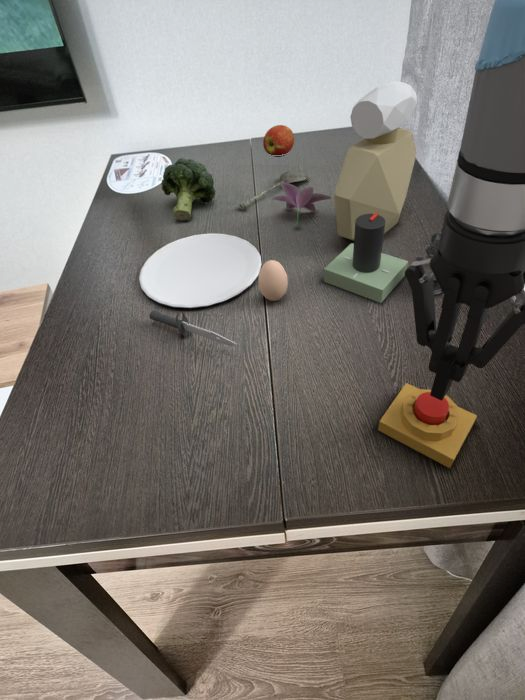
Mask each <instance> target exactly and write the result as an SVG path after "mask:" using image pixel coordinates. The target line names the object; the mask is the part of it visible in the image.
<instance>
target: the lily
mask: <svg viewBox="0 0 525 700" xmlns="http://www.w3.org/2000/svg"><path fill="white" fill-rule="evenodd" d="M279 182H280V184H281V185H280V186H281V189H282V190H283V193H284V195H277V196H273V197H272V198H271V199H272V200H274V201H279V202H285V207H286V209H287V210H292V209H295V208H296V209H297V213H296V226H297V227H296V228H297V229H299V227H300V225H299V223H300V222H299V218H300V217H299V216H300V215H299V214H300V210H301V209H302V208H304V209H307V210H309V211H311V212H313V213H316V212H317V209H316V205H315V204H314V203H317V202H320V201H327V200H331V199H332V197H331V196H329V195H326V194H322V193H317V192H314V187H313V186H308V187H305V188H302V189H300V188H299V187H298V186H296V185H294V184H291V183H286V182H281V181H279Z"/></svg>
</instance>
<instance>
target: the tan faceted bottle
mask: <svg viewBox="0 0 525 700" xmlns="http://www.w3.org/2000/svg"><path fill="white" fill-rule="evenodd" d="M417 97H418V95H417V93H416V91H415V90H414V88H413V87H412V85H410V84H408V83H406V82H403V81H398V80H394V81H391V82H386V83H384V84H381V85H378V86H375V87H374V88H373V89H372V90H370V91H368V93H366V94H365V95H364V96H362V97H361V98H360V99H358V100H357V102H356V104H354V106H353V107H352V110H351V112H350V123H351V128H352V129H353V130H354V131H355V133H356V135H358V136H360V137H361V138H363V139H362V140H360V141H359V142H357V143H356V144H353V145H352V146H351V147H349V148H348V149H347V152H346V155H345V158H344V161H343V165H342V168H341V171H340V174H339V178H338V181H337V184H336V186H335V190H334V193H333V198H334V208H335V220H336V230H337V231H336V232H337V235H338V236H339V237H343V238H345V239H347V240H350V241H353V242H354V235H355V221H356V219H357V218H358V217H359V216H361V215H364V214H375V213H379V215H380V216H382V217H383V218H384V219H385V230H384V234H386V233H387V232H388V231H390V230H391V229H392V228H393V227H394V226H397V224H398V223H399V219H400V216H401V213H402V210H403V208H404V205H405V201H406V199H407V195H408V191H409V186H410V182H411V178H412V174H413V170H414V167H415V162H416V157H417V149H416V145H415V139H414V135H413V132H412V130H411V129H407V128H401V127H402V126H403V125H405V124H406V123H407V122H408V121H409V120H410V119H411V117H412V116H413V115H414V113H415V110H416V108H417V106H418V98H417Z"/></svg>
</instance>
